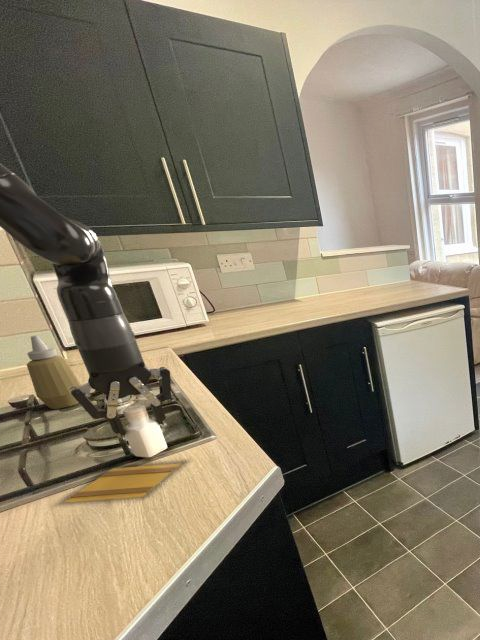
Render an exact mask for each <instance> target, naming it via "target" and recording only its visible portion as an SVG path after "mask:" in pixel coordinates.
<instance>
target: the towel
mask: <svg viewBox="0 0 480 640" xmlns="http://www.w3.org/2000/svg"><path fill="white" fill-rule="evenodd" d="M180 465H181V463H169V464H156V465H154V464H153V465H145V466H144V465H143V466H140V465H139V466H129V467H114V468H113V467H112V468H111V469H109V470H108V471H106V472H104V473H103V474H102V475H100V477H98V478H97V479H96V480H94V481H93V482H91V483H90V484H88V485H87V486H86V487H84V488H82V489H80V491H77V492H75V493H74V494H72V496H70V498H69V499H67V500H65V501H64V503H65V504H67V503H78V502H79V503H80V502H92V501H103V500H117V499H131V498H132V499H133V498H143V497H144V496H145V495H146V494H148V493H149V492H150V491H151V490H152V489H153V488H154V487H155V486H157V485H158V484H159V483H160V482H161V481H163V480H164V479H165V478H166V477H167V476H168V475H170V474H171V473H172V472H173V471H174V470H176V469H177V468H178V467H179V466H180Z"/></svg>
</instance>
